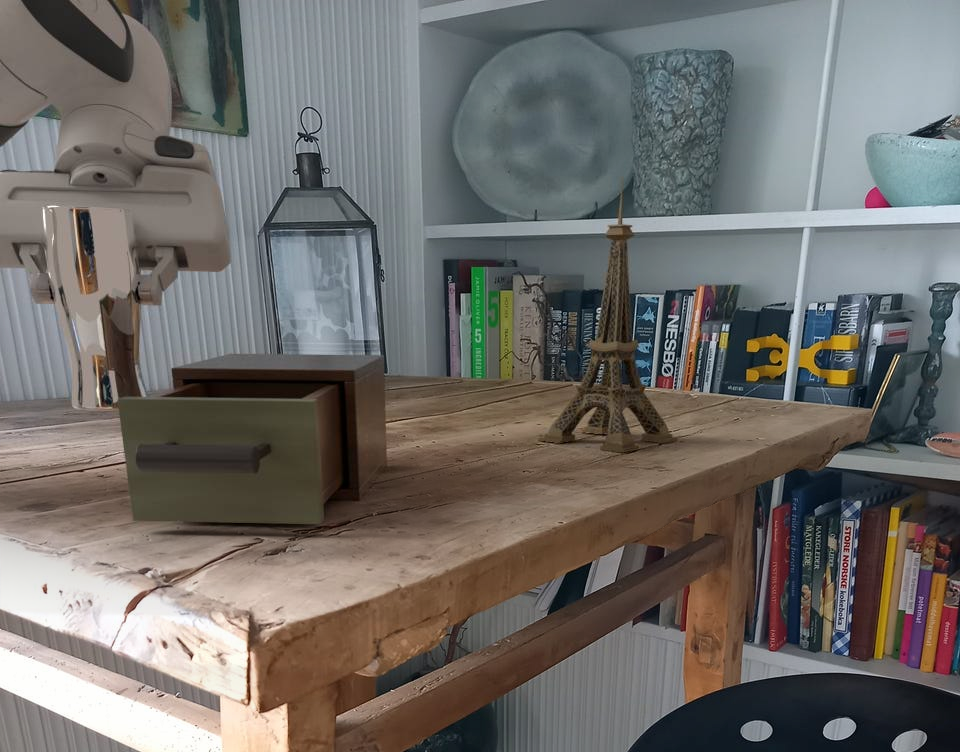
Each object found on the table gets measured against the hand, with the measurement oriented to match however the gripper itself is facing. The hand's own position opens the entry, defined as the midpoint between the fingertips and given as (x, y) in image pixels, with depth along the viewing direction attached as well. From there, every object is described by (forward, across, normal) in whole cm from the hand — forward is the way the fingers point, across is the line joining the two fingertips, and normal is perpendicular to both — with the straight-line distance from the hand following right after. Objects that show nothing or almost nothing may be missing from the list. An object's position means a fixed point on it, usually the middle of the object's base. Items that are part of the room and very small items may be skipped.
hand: (96, 299), depth 74 cm
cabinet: (+12, +15, +8) cm, 21 cm away
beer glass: (+6, 0, +6) cm, 9 cm away
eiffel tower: (-1, +47, +20) cm, 51 cm away
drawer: (+21, +12, -3) cm, 25 cm away
